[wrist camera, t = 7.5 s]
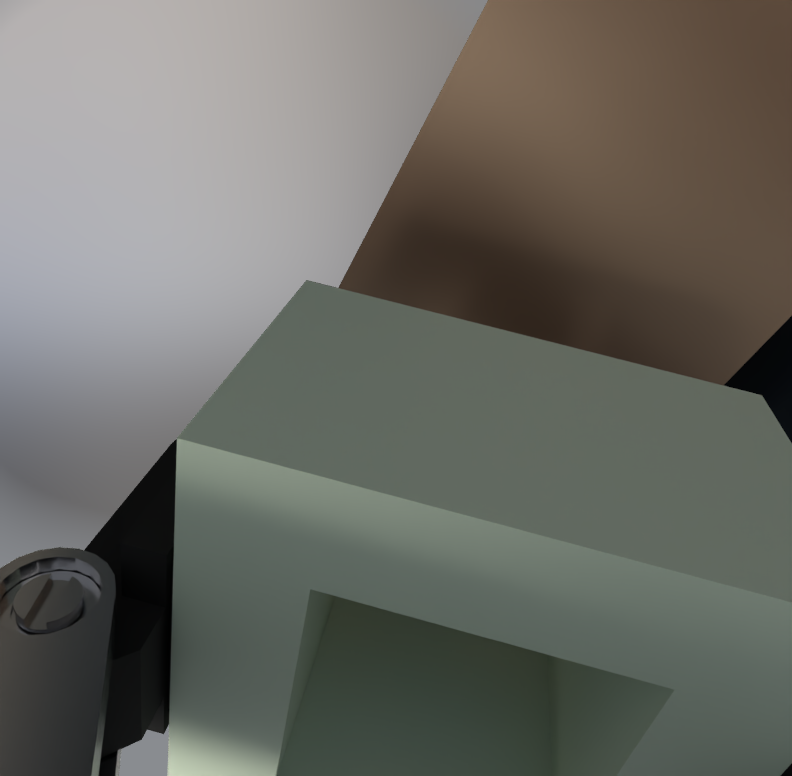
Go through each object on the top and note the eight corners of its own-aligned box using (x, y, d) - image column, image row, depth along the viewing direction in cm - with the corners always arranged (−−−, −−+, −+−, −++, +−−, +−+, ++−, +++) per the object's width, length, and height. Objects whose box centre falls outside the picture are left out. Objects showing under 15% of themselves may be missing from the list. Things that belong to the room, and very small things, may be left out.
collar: (597, 682, 12) (624, 945, 9) (265, 591, 12) (166, 810, 9) (762, 395, 9) (909, 635, 5) (307, 280, 9) (176, 437, 6)
